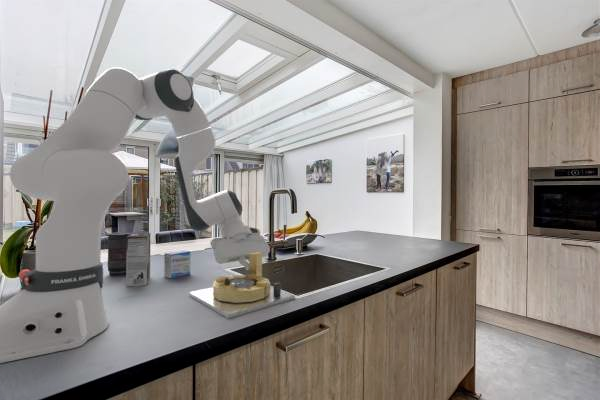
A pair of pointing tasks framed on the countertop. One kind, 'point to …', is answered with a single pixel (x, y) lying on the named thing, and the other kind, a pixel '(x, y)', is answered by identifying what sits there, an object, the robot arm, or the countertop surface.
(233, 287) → the lens holder
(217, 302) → the base plate
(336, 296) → the countertop surface
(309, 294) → the countertop surface
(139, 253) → the coffee box
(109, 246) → the camera lens
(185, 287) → the countertop surface
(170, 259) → the medicine box
